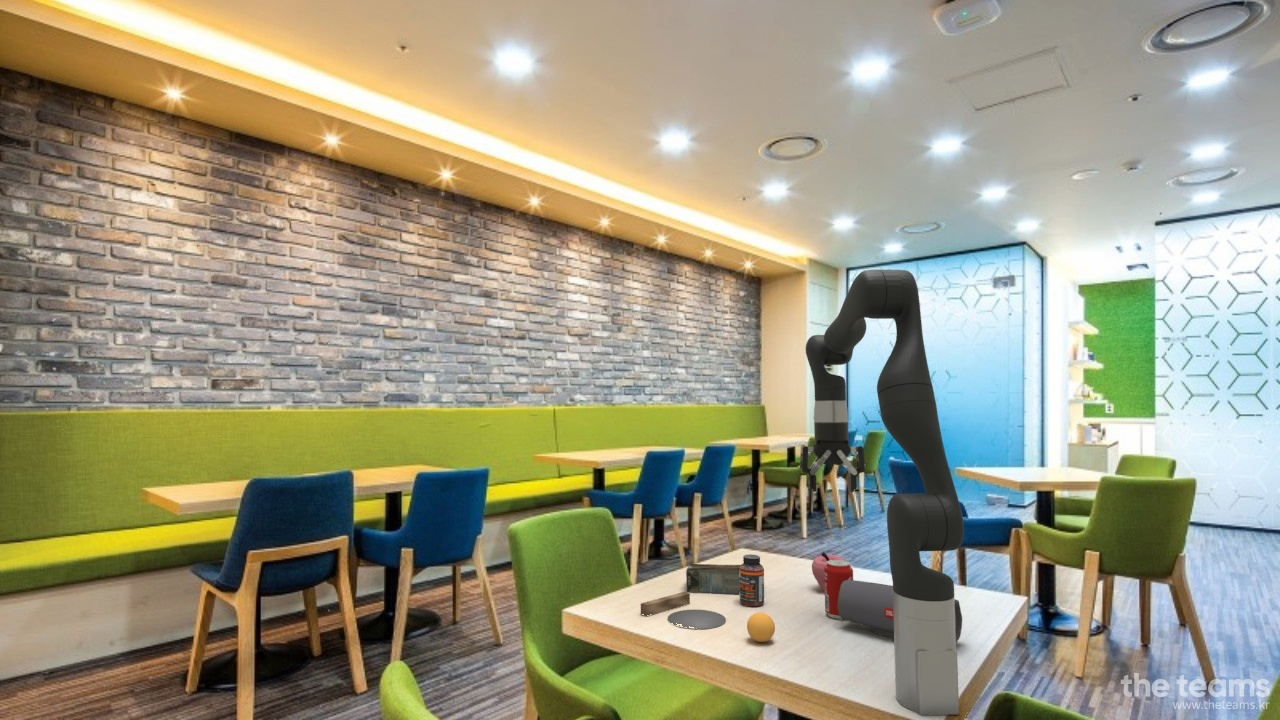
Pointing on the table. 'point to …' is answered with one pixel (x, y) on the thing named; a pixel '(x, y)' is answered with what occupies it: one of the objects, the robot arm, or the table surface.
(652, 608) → the wooden bar
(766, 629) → the ball
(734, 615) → the table surface
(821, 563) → the apple
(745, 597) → the supplement bottle
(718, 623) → the mark
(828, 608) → the beverage can
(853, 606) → the bluetooth speaker
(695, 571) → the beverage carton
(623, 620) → the table surface
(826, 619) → the table surface
